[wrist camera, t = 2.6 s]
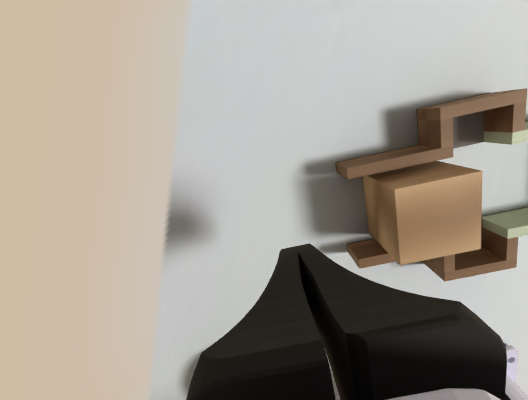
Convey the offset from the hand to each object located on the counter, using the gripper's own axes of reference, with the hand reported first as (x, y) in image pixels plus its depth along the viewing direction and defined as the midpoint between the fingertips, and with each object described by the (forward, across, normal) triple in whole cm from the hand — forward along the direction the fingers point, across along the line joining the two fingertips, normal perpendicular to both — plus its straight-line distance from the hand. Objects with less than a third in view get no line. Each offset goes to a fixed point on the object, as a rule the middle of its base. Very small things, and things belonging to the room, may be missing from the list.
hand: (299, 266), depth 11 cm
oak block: (+6, -7, 0) cm, 9 cm away
